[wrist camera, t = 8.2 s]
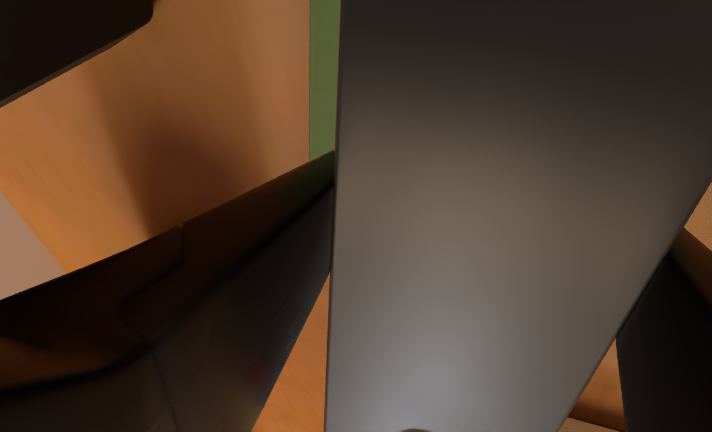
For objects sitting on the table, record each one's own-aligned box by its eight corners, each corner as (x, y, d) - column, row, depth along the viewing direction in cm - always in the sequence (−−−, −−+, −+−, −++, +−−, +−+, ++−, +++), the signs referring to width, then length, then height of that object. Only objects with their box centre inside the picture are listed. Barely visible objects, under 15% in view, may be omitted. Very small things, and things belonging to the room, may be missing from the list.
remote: (426, -505, 5) (354, -721, 3) (973, -522, 4) (1368, -827, 2) (348, 375, 14) (319, 465, 12) (512, 421, 14) (509, 523, 12)
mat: (884, -230, 10) (895, -231, 10) (637, 226, 18) (639, 234, 17) (315, -262, 12) (309, -264, 12) (312, 160, 20) (308, 165, 19)
